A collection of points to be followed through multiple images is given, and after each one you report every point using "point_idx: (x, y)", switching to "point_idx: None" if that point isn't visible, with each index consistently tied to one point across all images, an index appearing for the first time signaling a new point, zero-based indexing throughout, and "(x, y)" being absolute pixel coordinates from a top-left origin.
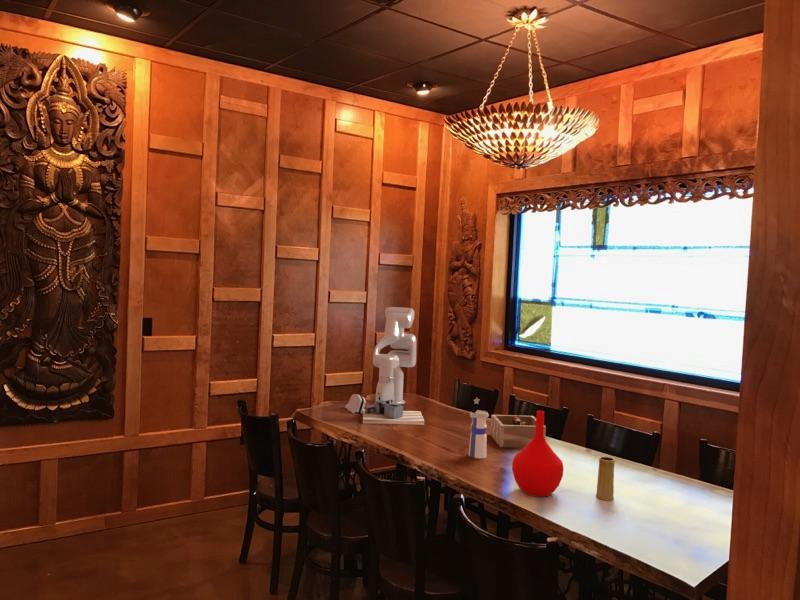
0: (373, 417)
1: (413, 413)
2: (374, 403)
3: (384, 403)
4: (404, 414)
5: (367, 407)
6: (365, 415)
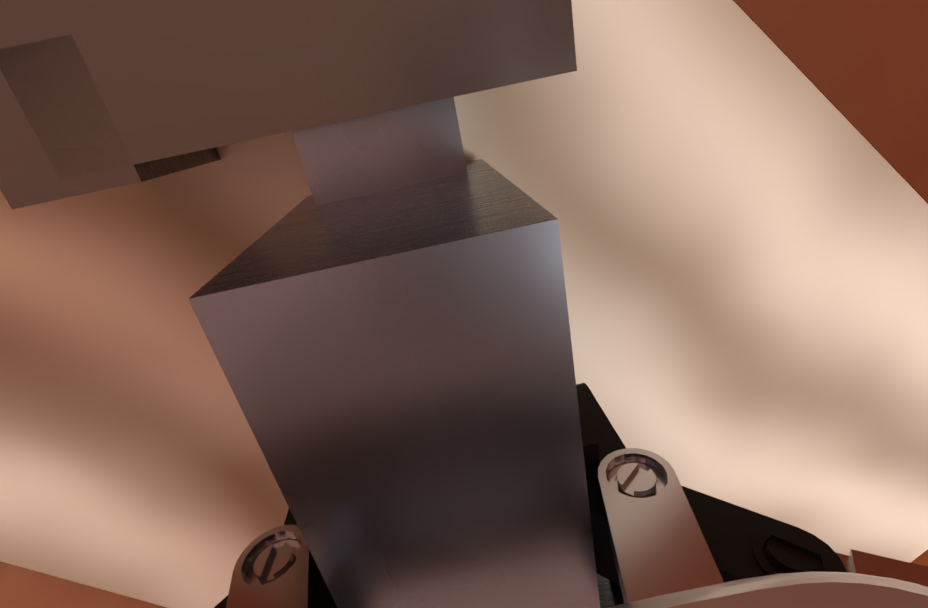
0: (140, 476)
1: (910, 471)
2: (219, 286)
3: (468, 599)
4: (754, 478)
5: (17, 119)
6: (15, 291)
